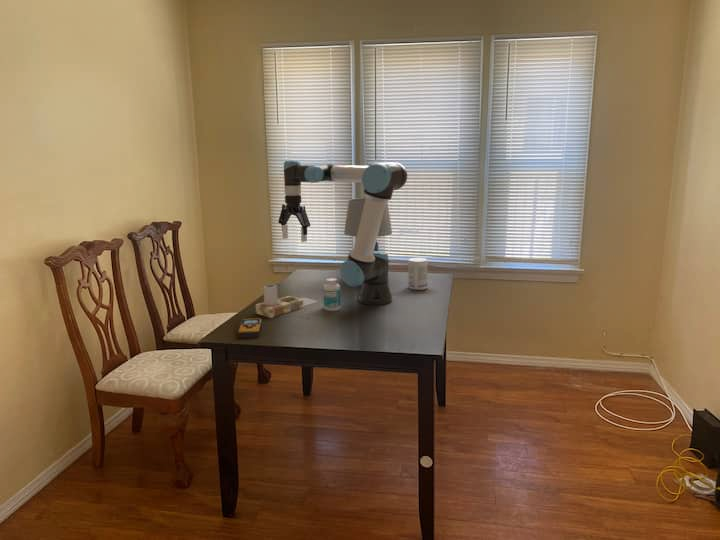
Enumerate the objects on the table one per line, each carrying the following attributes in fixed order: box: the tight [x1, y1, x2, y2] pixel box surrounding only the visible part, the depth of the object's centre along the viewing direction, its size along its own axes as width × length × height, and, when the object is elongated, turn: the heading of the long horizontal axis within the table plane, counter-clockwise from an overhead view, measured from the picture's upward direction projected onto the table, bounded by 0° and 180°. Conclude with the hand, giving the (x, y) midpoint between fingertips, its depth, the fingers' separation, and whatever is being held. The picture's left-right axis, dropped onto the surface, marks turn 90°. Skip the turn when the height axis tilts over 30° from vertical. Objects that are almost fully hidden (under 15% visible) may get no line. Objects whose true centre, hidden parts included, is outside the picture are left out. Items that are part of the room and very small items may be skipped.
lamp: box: [343, 197, 393, 251], centre depth 274 cm, size 25×25×43 cm
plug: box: [263, 283, 279, 307], centre depth 220 cm, size 4×4×13 cm
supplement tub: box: [407, 257, 428, 291], centre depth 260 cm, size 10×10×15 cm
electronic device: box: [237, 317, 263, 339], centre depth 200 cm, size 8×16×3 cm, turn 7°
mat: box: [300, 297, 319, 307], centre depth 237 cm, size 10×10×1 cm
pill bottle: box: [322, 277, 342, 312], centre depth 225 cm, size 8×7×14 cm
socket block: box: [255, 295, 304, 319], centre depth 224 cm, size 10×18×4 cm, turn 137°
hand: (294, 240), depth 244 cm, fingers open, 13 cm apart
